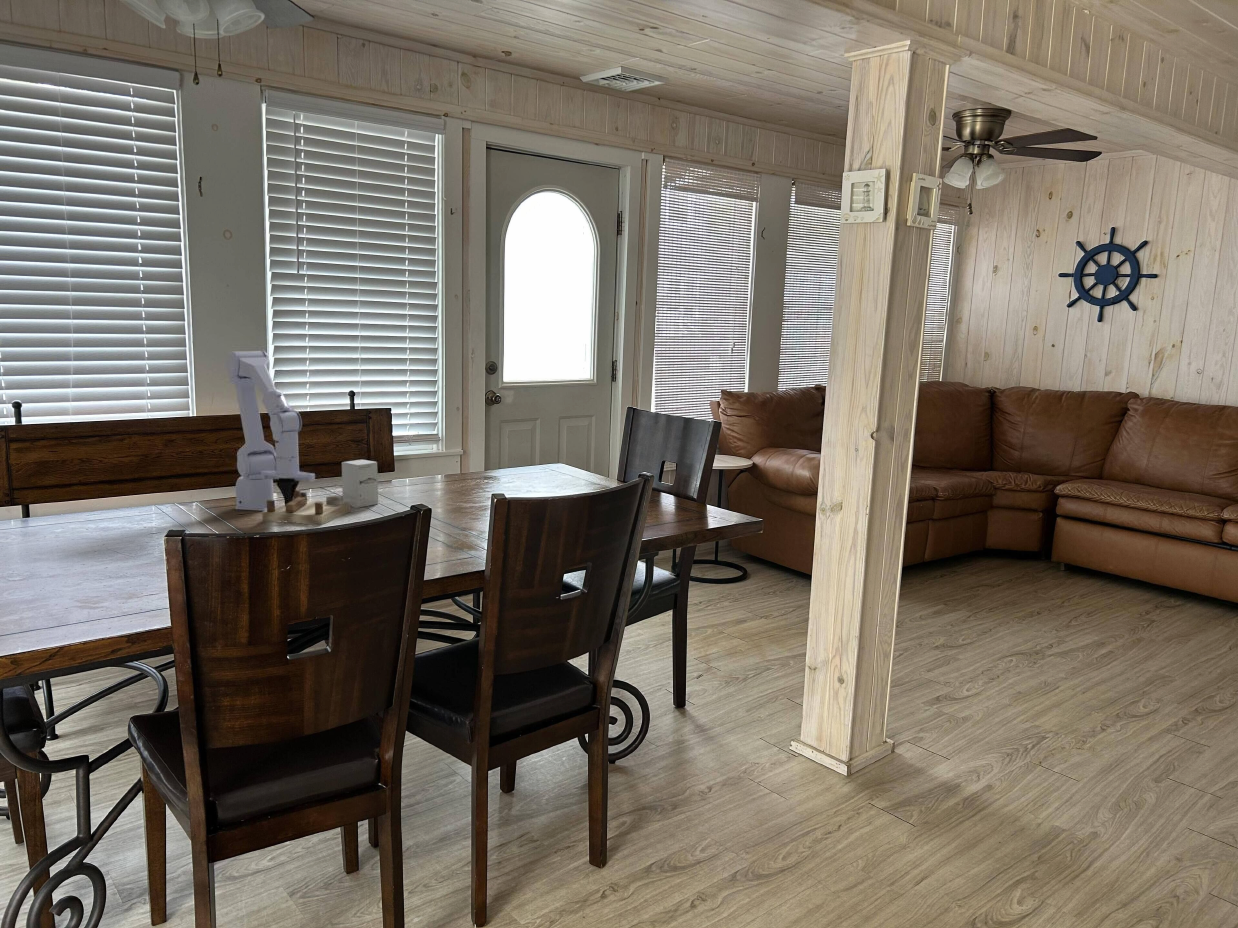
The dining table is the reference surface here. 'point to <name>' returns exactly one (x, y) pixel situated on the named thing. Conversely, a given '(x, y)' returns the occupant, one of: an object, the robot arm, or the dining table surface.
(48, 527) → the dining table surface
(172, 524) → the dining table surface
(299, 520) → the wooden peg board
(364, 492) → the supplement box
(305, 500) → the leg
